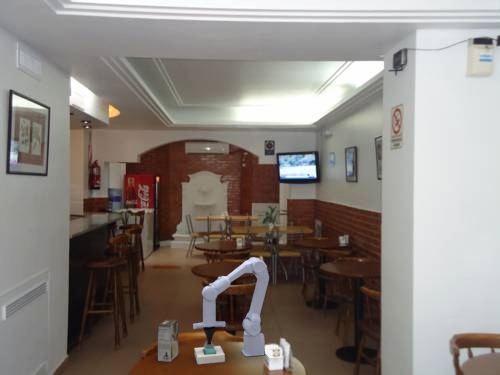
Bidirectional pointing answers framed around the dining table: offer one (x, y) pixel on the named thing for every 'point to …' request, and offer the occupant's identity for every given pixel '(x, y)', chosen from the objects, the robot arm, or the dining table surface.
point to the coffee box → (167, 340)
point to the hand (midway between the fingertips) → (209, 343)
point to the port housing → (209, 356)
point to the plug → (209, 348)
